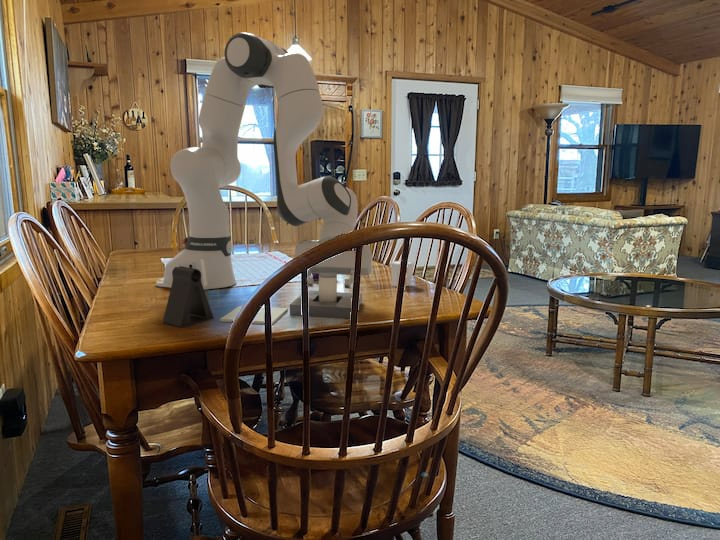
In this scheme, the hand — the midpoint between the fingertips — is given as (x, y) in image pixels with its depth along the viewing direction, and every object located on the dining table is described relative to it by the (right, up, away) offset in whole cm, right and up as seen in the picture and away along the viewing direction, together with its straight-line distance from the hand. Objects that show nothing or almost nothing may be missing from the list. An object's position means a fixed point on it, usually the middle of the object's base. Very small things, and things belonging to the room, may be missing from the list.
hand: (328, 286), depth 129 cm
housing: (0, -6, +1) cm, 6 cm away
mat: (-17, -7, -6) cm, 19 cm away
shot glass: (+20, -1, +30) cm, 36 cm away
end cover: (0, -6, +1) cm, 6 cm away
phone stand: (-30, -8, -11) cm, 33 cm away
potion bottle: (-5, +1, +39) cm, 39 cm away
